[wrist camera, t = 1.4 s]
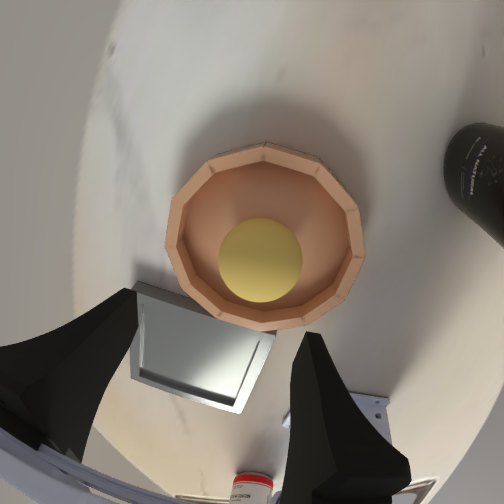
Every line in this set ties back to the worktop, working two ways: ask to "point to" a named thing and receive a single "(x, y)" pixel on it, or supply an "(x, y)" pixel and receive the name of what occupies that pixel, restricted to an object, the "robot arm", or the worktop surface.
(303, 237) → the bowl
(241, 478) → the beer can
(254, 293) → the ball
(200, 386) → the tray
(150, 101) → the worktop surface
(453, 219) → the worktop surface
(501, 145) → the supplement bottle
